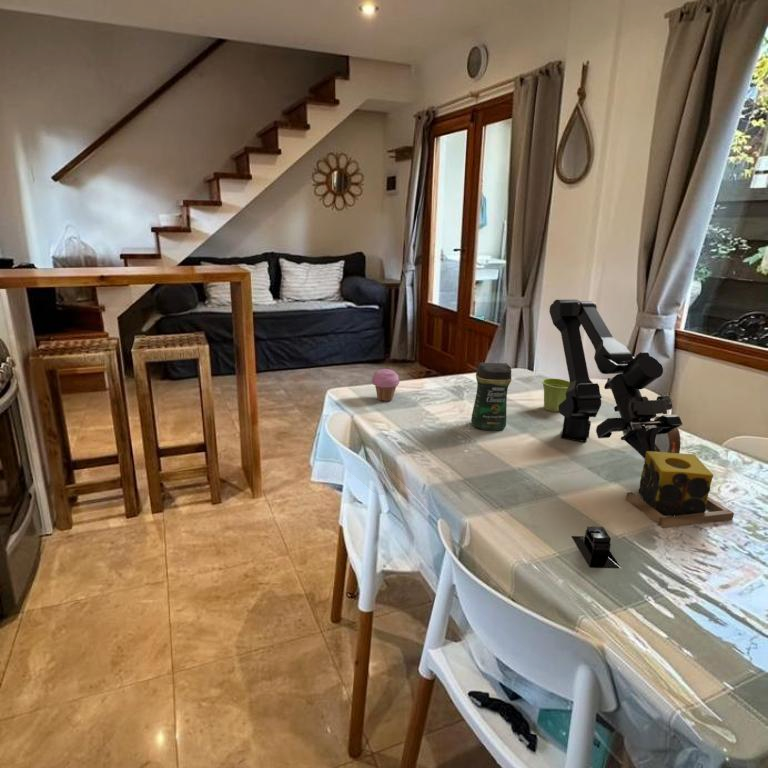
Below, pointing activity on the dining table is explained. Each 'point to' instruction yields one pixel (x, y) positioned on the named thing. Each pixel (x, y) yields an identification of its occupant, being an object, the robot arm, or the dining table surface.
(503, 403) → the coffee jar
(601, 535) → the black block on plate
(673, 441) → the tin
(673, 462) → the yellow holed cube
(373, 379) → the cupcake
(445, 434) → the dining table surface
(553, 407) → the plant pot
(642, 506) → the brown flat tray
